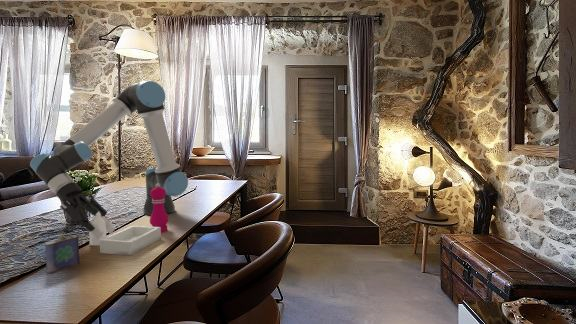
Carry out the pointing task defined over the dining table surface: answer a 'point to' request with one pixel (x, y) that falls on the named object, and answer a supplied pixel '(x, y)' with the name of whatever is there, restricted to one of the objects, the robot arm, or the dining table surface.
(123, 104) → the robot arm
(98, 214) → the white pointed block
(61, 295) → the dining table surface
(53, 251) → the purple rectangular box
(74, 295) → the dining table surface
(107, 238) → the tray
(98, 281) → the dining table surface
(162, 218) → the pepper mill
